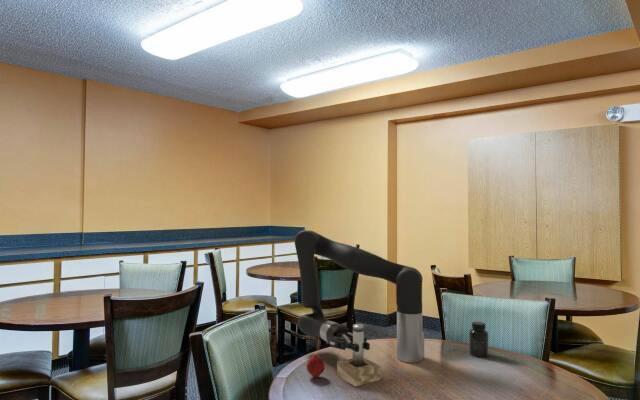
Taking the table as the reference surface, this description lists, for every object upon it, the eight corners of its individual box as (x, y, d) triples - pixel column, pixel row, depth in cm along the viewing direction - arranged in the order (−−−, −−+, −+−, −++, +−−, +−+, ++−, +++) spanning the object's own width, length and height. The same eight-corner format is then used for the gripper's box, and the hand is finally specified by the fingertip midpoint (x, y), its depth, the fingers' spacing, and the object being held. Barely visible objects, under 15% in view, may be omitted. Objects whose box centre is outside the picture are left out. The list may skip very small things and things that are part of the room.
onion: (326, 375, 137) (326, 351, 137) (321, 382, 131) (321, 356, 132) (310, 373, 139) (310, 349, 139) (303, 379, 133) (304, 354, 134)
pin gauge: (359, 368, 138) (359, 323, 138) (366, 372, 135) (366, 326, 135) (349, 370, 136) (350, 324, 136) (356, 374, 133) (357, 327, 133)
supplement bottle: (472, 350, 163) (472, 319, 163) (490, 354, 159) (490, 322, 159) (466, 355, 157) (466, 323, 158) (485, 359, 153) (485, 326, 154)
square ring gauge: (361, 369, 142) (361, 356, 142) (380, 379, 134) (380, 365, 134) (337, 375, 137) (337, 361, 137) (354, 386, 128) (354, 371, 129)
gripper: (317, 325, 144) (345, 339, 130) (350, 320, 152) (381, 333, 137) (317, 347, 144) (345, 363, 129) (350, 341, 152) (380, 355, 137)
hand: (363, 347), depth 133 cm, fingers closed on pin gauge, 3 cm apart
